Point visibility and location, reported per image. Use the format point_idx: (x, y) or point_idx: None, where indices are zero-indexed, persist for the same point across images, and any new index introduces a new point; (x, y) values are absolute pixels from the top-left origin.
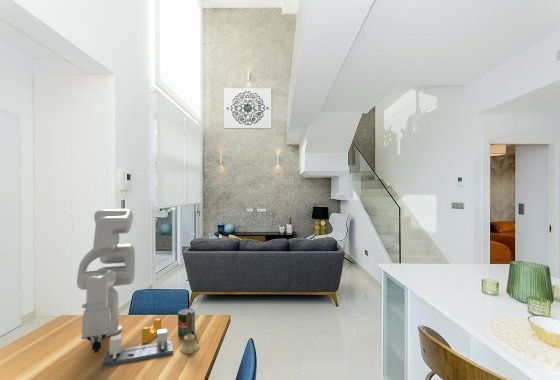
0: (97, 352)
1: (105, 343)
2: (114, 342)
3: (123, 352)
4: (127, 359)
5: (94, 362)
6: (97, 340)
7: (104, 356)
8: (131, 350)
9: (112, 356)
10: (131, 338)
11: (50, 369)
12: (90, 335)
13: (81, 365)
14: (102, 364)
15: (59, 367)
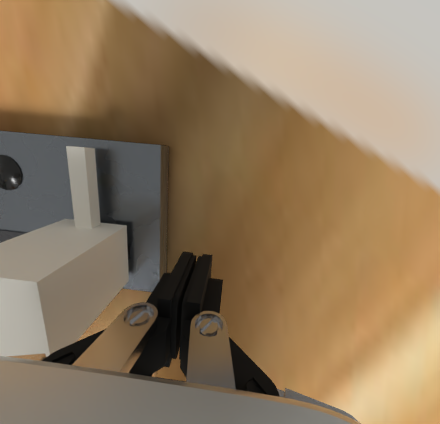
0: (189, 252)
1: None
2: (25, 260)
3: None
4: (22, 133)
5: (214, 227)
6: (163, 332)
7: (158, 234)
8: (16, 233)
9: (113, 211)
10: None
11: (427, 260)
12: (230, 416)
13: (277, 226)
14: (162, 145)
15: (383, 260)
